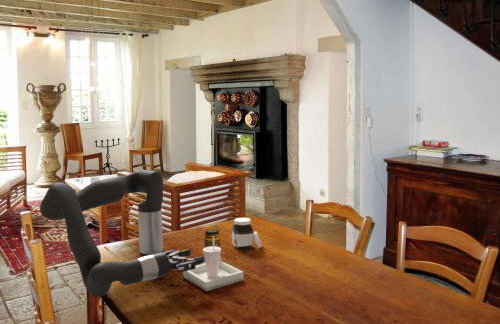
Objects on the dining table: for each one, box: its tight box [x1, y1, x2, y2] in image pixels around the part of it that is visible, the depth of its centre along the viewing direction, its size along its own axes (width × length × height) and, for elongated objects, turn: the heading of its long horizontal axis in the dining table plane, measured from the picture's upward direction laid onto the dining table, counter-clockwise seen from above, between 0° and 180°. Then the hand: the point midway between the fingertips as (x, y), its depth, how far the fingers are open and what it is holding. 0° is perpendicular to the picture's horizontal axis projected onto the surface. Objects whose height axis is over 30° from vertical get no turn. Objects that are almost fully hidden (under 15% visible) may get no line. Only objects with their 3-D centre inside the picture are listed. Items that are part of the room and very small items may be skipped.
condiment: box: [200, 228, 222, 265], centre depth 181 cm, size 7×8×12 cm
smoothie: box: [202, 237, 222, 278], centre depth 162 cm, size 6×6×14 cm
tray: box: [182, 259, 244, 292], centre depth 163 cm, size 15×15×3 cm
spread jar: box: [231, 217, 263, 250], centre depth 197 cm, size 12×11×12 cm
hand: (196, 255), depth 158 cm, fingers open, 8 cm apart
